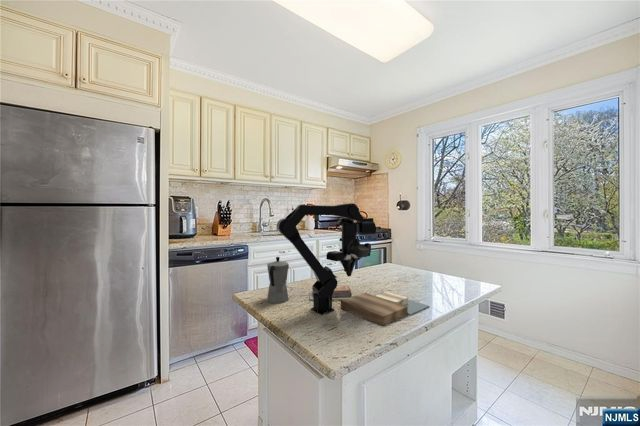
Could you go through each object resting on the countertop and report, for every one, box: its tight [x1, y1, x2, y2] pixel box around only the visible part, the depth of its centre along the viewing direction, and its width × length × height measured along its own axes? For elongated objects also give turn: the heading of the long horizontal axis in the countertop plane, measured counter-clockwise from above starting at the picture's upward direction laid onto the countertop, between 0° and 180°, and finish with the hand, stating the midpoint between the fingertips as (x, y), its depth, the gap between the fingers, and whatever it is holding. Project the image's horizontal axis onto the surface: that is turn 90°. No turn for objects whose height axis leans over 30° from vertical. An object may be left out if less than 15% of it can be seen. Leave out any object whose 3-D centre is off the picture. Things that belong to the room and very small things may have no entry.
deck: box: [340, 292, 409, 327], centre depth 97 cm, size 14×20×3 cm
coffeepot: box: [266, 256, 290, 304], centre depth 109 cm, size 15×9×18 cm, turn 172°
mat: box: [372, 291, 430, 317], centre depth 106 cm, size 13×22×1 cm, turn 39°
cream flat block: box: [374, 291, 409, 305], centre depth 104 cm, size 8×10×2 cm
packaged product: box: [308, 284, 353, 302], centre depth 114 cm, size 18×5×10 cm
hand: (349, 276), depth 101 cm, fingers closed
